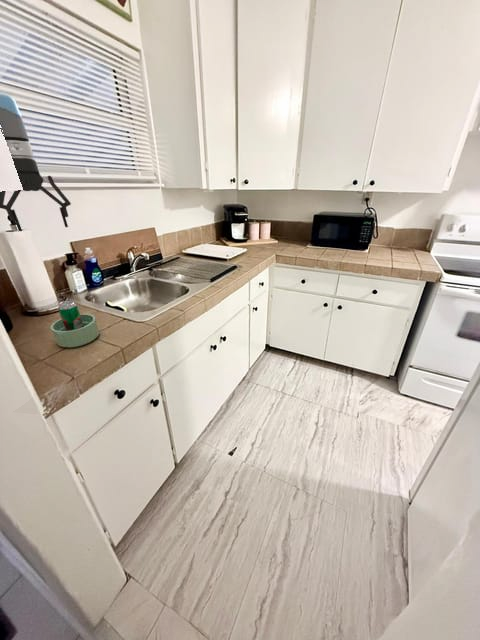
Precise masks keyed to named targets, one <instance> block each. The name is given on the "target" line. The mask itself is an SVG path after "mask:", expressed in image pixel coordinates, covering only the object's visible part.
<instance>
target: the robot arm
mask: <svg viewBox="0 0 480 640" xmlns="http://www.w3.org/2000/svg"><path fill="white" fill-rule="evenodd" d="M0 125H1V127H2V128H0V129H1V132H2V130H3V132H2V134H4V135H3V136H4V137H5V140H6V142H7V146H8V147H9V151H10V153H11V156H12V159H13V161H14V165H15V168H16V170H17V173H18V176H19V179H20V182H21V184H22V187H23V190H18V191H15V190H14V191H13V193H12V195H11V196H10V198H9V200H8V202H7V203H6V204H5V197H6V191H7V190H6V191H2V192H0V209H3V210H5V211H6V212H7V215H8V218H9V220H10V221H14V222H15V224H16V227H17V230H18V232H22V231H23V229H22V226H21V224H20V221H19V218H18V215H17V213H16V210H15V209H12V208H13V206H14V203H16V200H17V198H18V197H19V195H20V193H21V192H22V191H24V192H31V191H34V192H38V191H39V190H41V191H42V192H43V193H44V194H45V195H47V196H48V197H49V198H50V199H52V200H53V201H54V202H55V203H56V204H58V205H59V206H60V207H58V208H59V212H60V215H61V217H62V221H63V224H64V228H69V226H68V222H67V218H69V213H68V209H67V207H69V206H71V205H72V203H71V201H70V200H69V199H68V198H67V197H66V195H65V194H64V193H63V192H62V191H61V190H60V188H59V187H58V186H57V184H56V183H55V181H54V179H53V176H51V175H48V176H42V175H41V173H40V171H39V166H38V163H37V160H35V159H33V158H34V157H35V155H34V151H33V149H32V144H31V143H30V140H29V137H28V133H27V129H26V126H25V123H24V120H23V116H22V114H21V111H20V109H19V106H18V103H17V101H16V100H15V99H14V98H13V97H12V96H10V95H8V94H4V93H0ZM44 181H45V182H46V183H47V184H49V185H50V186H51V187H52V188H53V189H54V191H55V192H56V193H57V194H58V195H59V196H60V198H61V200H63V201H64V202H63V201H61V200H60V199H59V198H57V197H56V196H55V195H54V194H52V193H51V192H50V191H49V190H47V188H45V187H44V186H43V183H44Z"/></svg>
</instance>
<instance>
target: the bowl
mask: <svg viewBox="0 0 480 640" xmlns="http://www.w3.org/2000/svg"><path fill="white" fill-rule="evenodd" d="M80 316H81V319H82V322H83V325H84V327H82V328H79V329H76V330H71V331H66V329H65V327H64V324H63V321H62V318H61V317H60V318H59V319H58V320H56V321H54V322H53V323H52V324H51V325H50V331H51V333H52V336H53V338H54V341H55V343H56V344H57V346H58V347H62V348H76V347H81V346H84V345H87V344H89V343H91V342H92V341H94V340H96V338H98V336H99V335H100V330H99V326H98V323H97V320H96V317H95V315H93V314H90V313H80Z"/></svg>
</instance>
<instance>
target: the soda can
mask: <svg viewBox="0 0 480 640" xmlns="http://www.w3.org/2000/svg"><path fill="white" fill-rule="evenodd" d="M57 306H58V307H57V310H58V313H59V316H60V319H61V318H62V321H63V324H64V327H65V329H66V331H71V330H76V329H79V328H82V327H84V325H83V322H82V319H81V316H80V314H81V313H80V309H79V306H78V304H77V303H76V302H75V301H74V300H64V301H62V302H60V303H58V305H57Z"/></svg>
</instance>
